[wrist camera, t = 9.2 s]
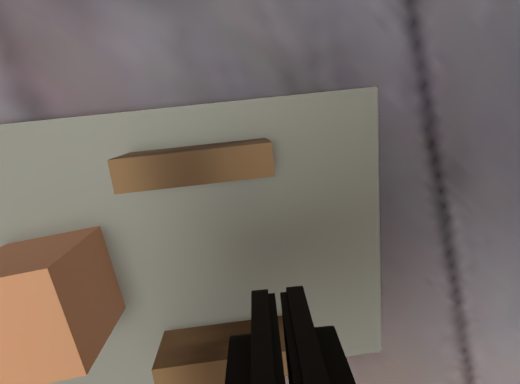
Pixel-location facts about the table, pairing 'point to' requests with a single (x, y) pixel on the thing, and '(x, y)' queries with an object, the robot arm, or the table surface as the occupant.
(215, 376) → the channel walls
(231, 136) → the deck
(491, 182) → the table surface
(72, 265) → the block
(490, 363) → the table surface
